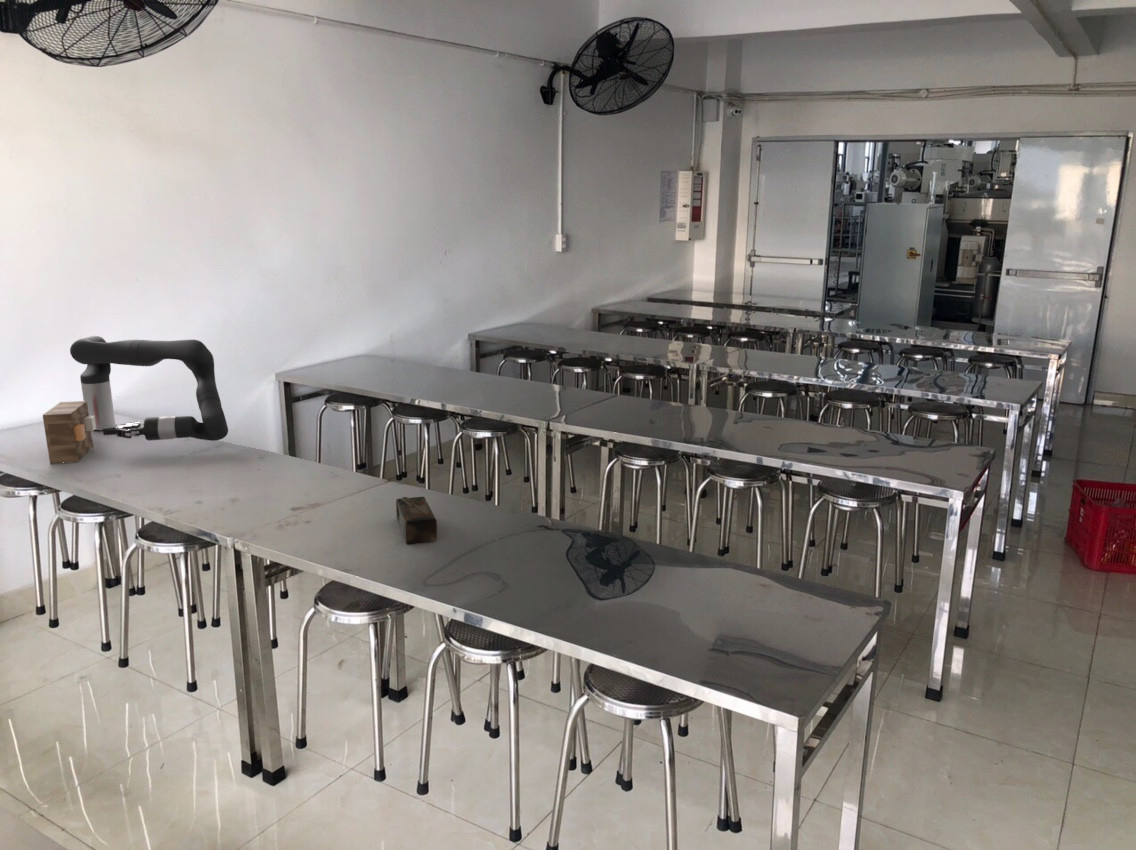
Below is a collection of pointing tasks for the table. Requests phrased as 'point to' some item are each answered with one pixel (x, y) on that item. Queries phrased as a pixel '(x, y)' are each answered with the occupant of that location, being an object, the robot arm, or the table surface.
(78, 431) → the orange key
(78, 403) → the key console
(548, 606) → the table surface
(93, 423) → the white key
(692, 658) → the table surface
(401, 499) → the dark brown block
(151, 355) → the robot arm
